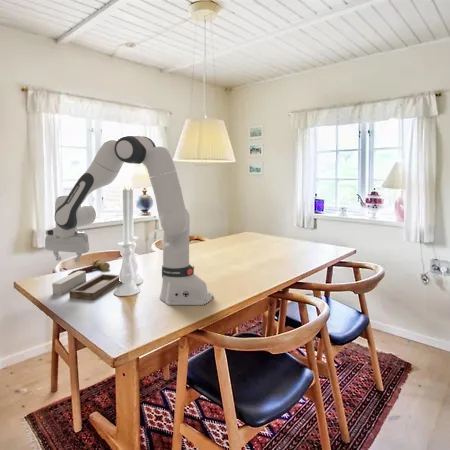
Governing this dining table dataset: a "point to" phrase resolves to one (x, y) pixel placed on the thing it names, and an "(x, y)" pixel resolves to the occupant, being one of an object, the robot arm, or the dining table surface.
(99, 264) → the gavel
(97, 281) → the brown wooden tray
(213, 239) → the dining table surface
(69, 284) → the clay strip
